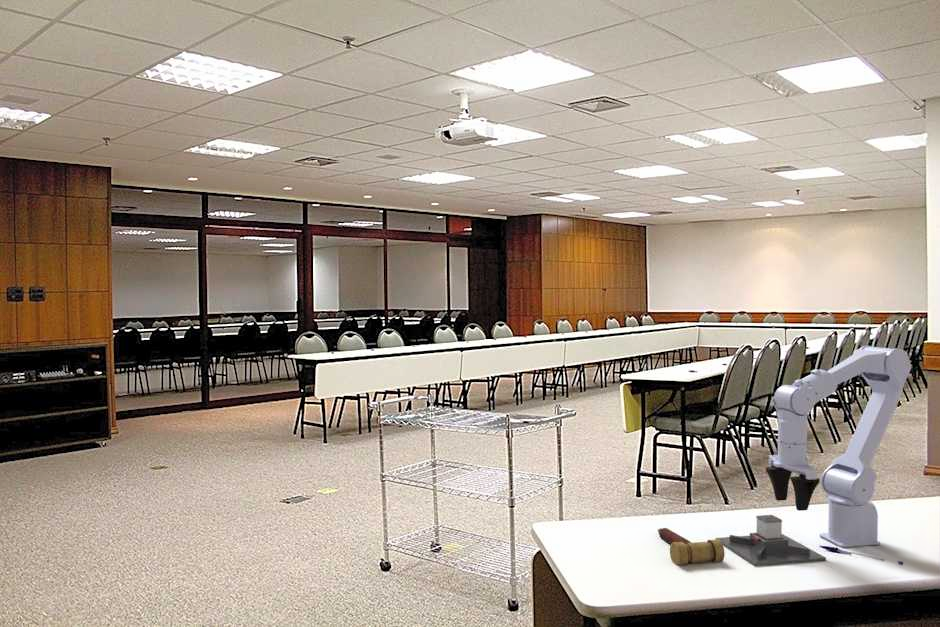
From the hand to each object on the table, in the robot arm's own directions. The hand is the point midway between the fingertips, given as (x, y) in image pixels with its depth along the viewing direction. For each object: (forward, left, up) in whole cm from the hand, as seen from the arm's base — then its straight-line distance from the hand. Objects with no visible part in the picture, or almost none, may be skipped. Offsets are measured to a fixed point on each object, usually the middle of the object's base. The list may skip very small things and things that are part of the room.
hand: (791, 504), depth 168 cm
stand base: (+5, 0, -10) cm, 11 cm away
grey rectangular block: (+5, 0, -10) cm, 11 cm away
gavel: (+23, -5, -10) cm, 26 cm away
